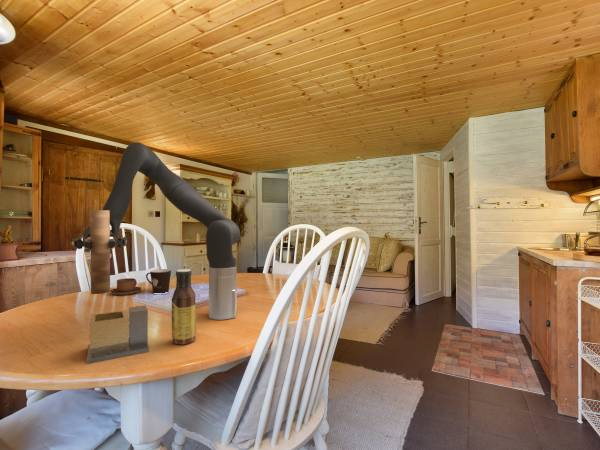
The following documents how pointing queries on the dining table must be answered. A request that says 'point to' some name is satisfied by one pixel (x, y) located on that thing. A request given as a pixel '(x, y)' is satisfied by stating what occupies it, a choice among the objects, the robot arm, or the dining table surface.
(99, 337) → the bracket
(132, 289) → the cup and saucer
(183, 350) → the dining table surface
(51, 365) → the dining table surface
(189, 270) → the sauce bottle
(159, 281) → the coffee mug
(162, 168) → the robot arm
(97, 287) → the rod
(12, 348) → the dining table surface
